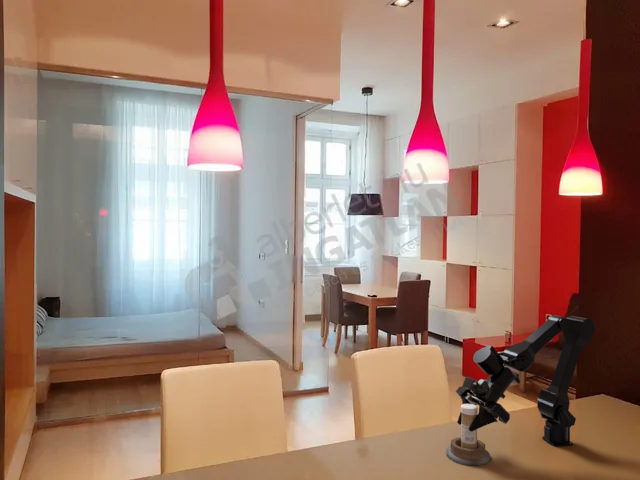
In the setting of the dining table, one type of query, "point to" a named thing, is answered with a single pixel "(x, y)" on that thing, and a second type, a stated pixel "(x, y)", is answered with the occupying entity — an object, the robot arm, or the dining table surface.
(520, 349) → the robot arm
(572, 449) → the dining table surface
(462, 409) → the sprinkles bottle
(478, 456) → the collar socket
